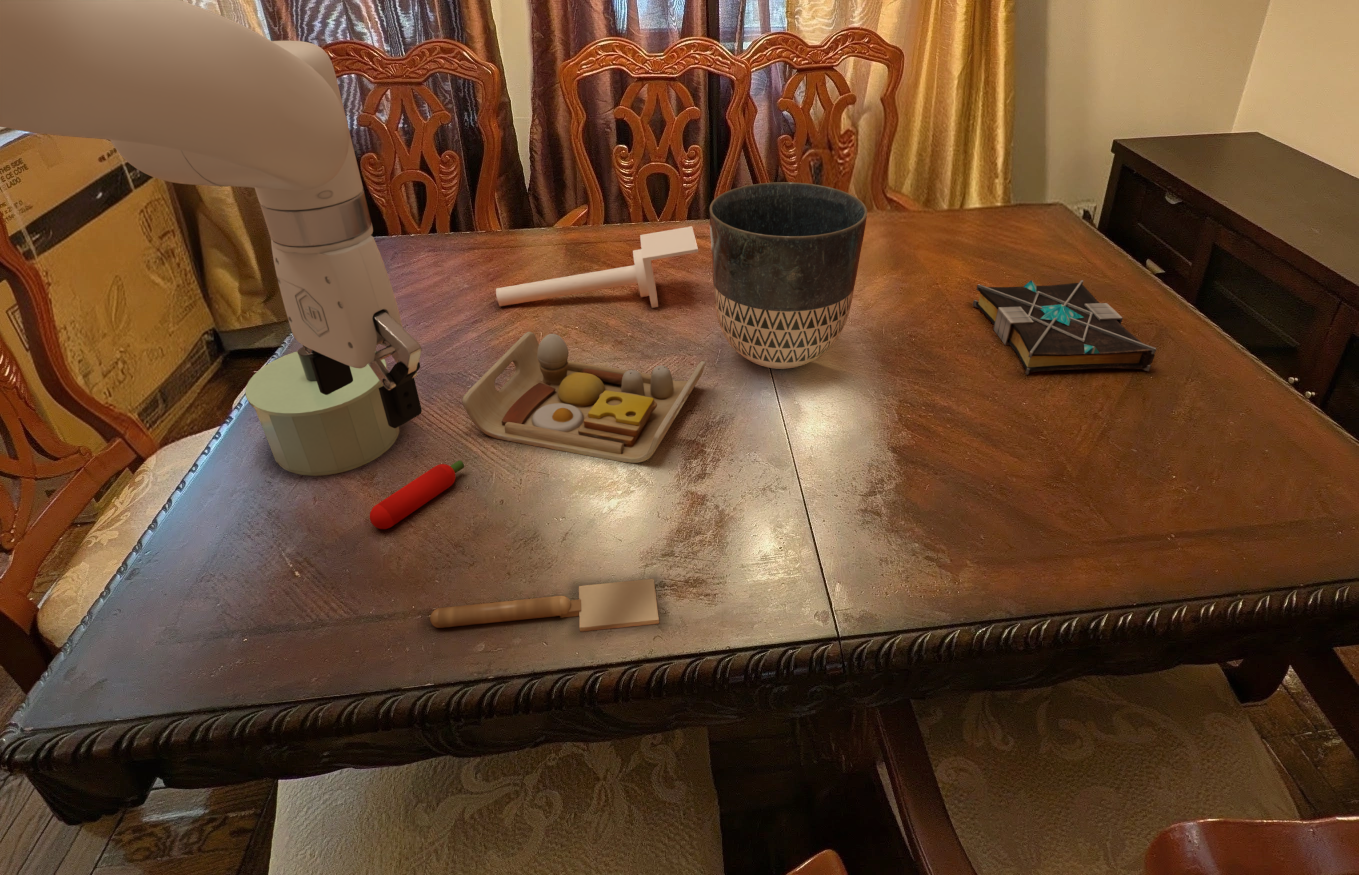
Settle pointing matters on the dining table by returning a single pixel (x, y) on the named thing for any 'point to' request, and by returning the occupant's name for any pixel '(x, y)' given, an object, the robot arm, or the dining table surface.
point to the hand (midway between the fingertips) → (370, 403)
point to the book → (1061, 328)
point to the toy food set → (576, 402)
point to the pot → (330, 437)
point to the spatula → (566, 608)
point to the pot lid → (303, 387)
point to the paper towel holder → (610, 271)
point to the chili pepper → (414, 495)
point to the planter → (784, 268)
